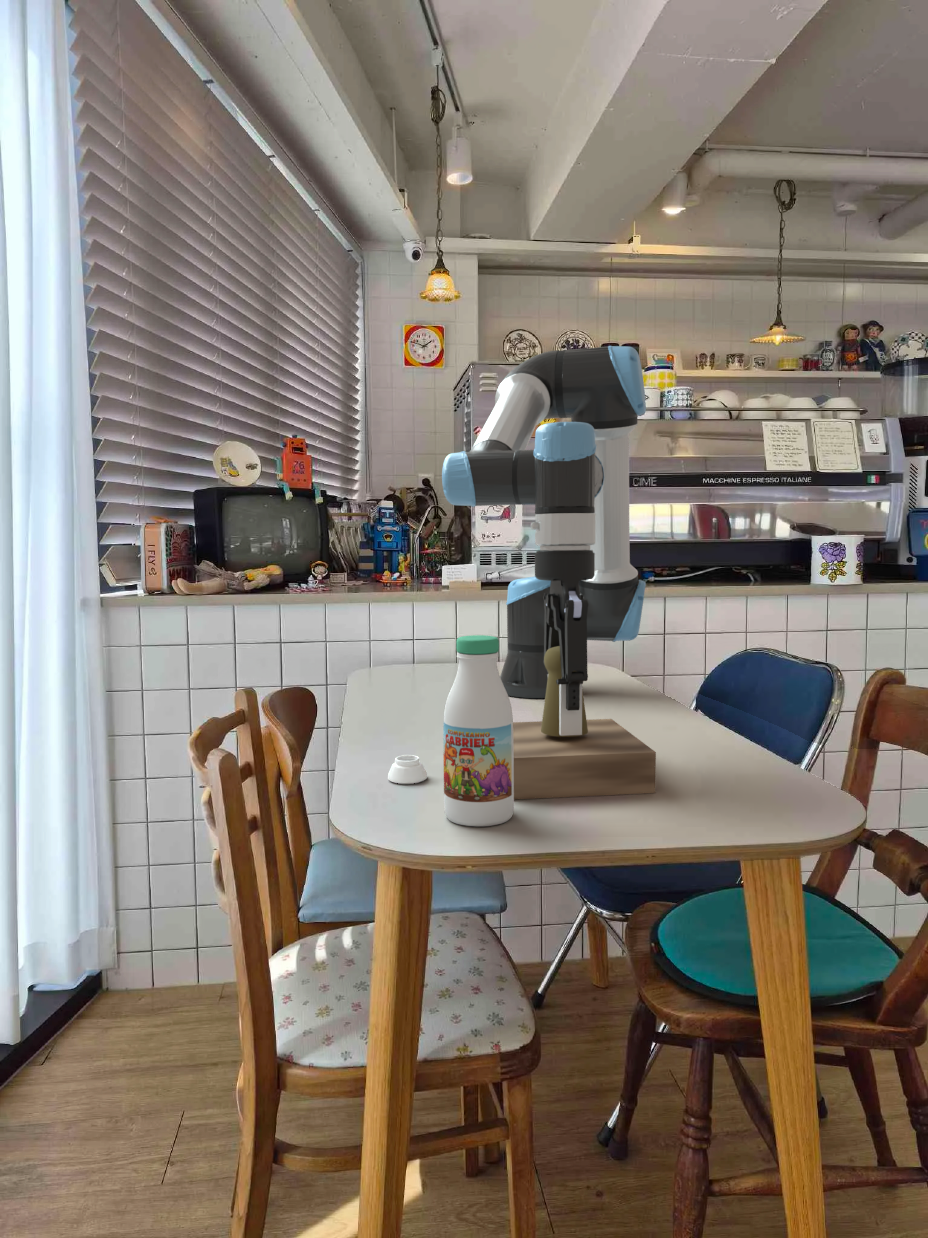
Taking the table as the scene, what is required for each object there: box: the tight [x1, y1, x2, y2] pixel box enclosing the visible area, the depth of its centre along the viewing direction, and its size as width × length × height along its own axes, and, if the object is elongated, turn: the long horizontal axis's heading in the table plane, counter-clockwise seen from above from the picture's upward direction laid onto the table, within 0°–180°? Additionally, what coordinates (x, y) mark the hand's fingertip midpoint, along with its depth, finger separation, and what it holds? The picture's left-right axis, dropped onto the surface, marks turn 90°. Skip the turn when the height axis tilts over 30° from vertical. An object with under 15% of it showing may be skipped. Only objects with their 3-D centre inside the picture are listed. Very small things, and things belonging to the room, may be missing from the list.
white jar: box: [387, 754, 428, 785], centre depth 103 cm, size 5×3×5 cm
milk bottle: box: [442, 634, 515, 827], centre depth 88 cm, size 8×8×20 cm
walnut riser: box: [513, 718, 657, 801], centre depth 104 cm, size 18×18×5 cm
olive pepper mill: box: [541, 646, 588, 737], centre depth 104 cm, size 6×6×11 cm
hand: (564, 728), depth 104 cm, fingers closed on olive pepper mill, 6 cm apart
